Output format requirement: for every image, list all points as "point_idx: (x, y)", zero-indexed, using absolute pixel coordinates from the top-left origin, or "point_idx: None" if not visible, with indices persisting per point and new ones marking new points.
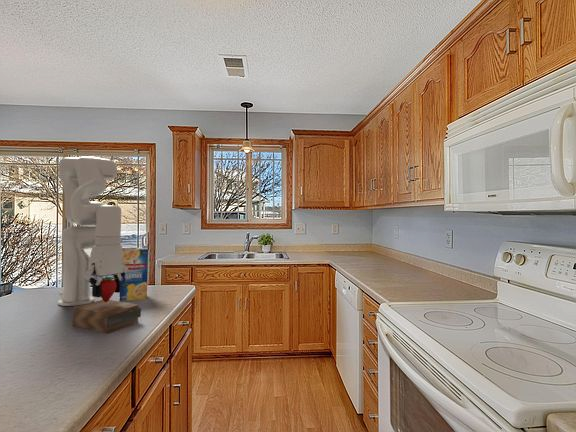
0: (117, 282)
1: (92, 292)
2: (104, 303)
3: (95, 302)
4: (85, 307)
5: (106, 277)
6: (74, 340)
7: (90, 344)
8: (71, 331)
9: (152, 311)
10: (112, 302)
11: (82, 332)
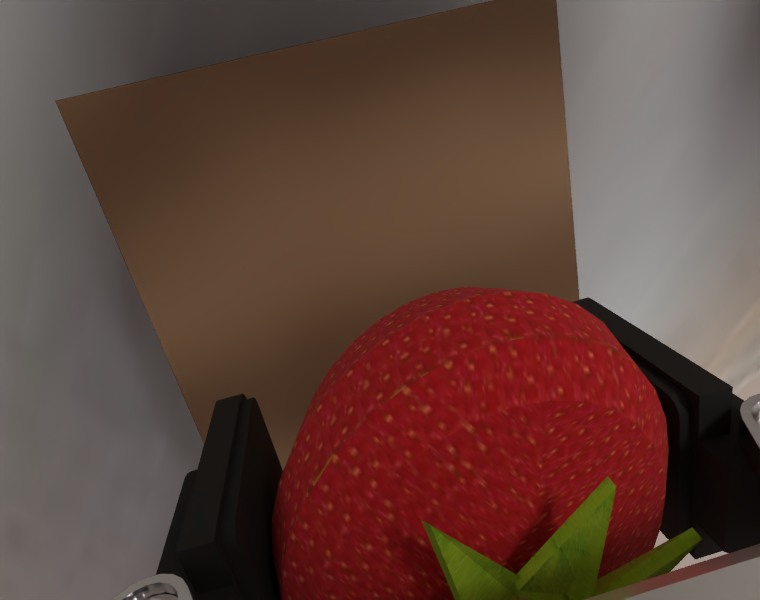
0: (668, 518)
1: (186, 489)
2: (424, 220)
3: (375, 74)
4: (186, 242)
5: (589, 541)
6: (65, 474)
7: (130, 585)
8: (88, 273)
9: (752, 235)
10: (504, 243)
11: (152, 356)
